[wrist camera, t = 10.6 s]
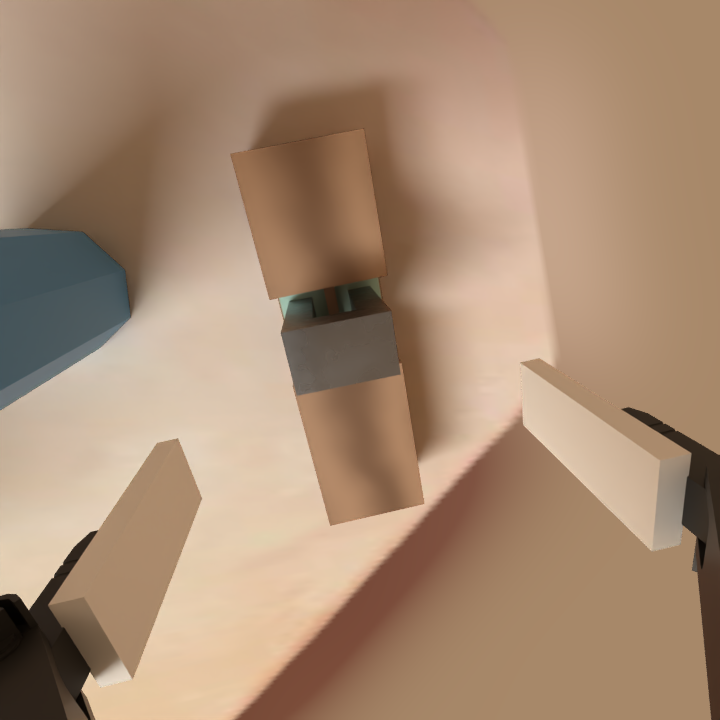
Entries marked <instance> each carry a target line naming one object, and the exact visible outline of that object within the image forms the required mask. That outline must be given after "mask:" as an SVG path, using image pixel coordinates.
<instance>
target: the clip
mask: <svg viewBox="0 0 720 720" xmlns="http://www.w3.org/2000/svg"><path fill="white" fill-rule="evenodd" d="M348 296H349V301H350V307H351V311H347V312H342V313H337V314H331V315H326V316H321V317H316V313H315V308H314V304H313V299H312V297H309V298H304V299H299V300H294V301H289V304H288V307H287V311H286V315H285V319H284V323H283V326H282V330H281V336H282V340H283V343H284V347H285V351H286V355H287V359H288V363H289V367H290V371H291V375H292V379H293V383H294V387H295V391H296V395H297V396H299V395H304V394H308V393H313V392H318V391H323V390H328V389H333V388H338V387H342V386H347V385H352V384H357V383H362V382H367V381H372V380H376V379H381V378H386V377H391V376H396V375H401V373H400V366H399V360H398V353H397V346H396V340H395V333H394V326H393V320H392V313H391V310H390V309H389V308H388V307H387V305H386V304H385V303H384V302H383V301H382V299H381V298H380V297H379V296H378V295H377V293H376V292H375V291H374V290H373V289H372V287H371V286H365V287H360V288H355V289H350V290H348Z"/></svg>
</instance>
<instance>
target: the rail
mask: <svg viewBox="0 0 720 720" xmlns="http://www.w3.org/2000/svg"><path fill="white" fill-rule="evenodd" d="M231 158H232V162H233V165H234V169H235V173H236V177H237V180H238V184H239V188H240V192H241V195H242V199H243V203H244V206H245V210H246V214H247V218H248V221H249V225H250V229H251V232H252V236H253V240H254V244H255V247H256V251H257V255H258V258H259V262H260V266H261V270H262V273H263V277H264V281H265V285H266V288H267V292H268V296H269V299H270V300H272V299H276V298H278V301H279V304H280V308H281V312H282V316H283V320H284V319H285V315H286V311H287V307H288V304H289V301H294V300H299V299H304V298H309V297H312V299H313V304H314V308H315V313H316V317H321V316H326V315H331V314H337V313H342V312H347V311H351V307H350V301H349V296H348V290H350V289H355V288H360V287H365V286H371V287H372V289H373V290H374V291H375V292H376V293H377V295H378V296H379V297H380V298H381V299H382V301H383V298H382V292H381V286H380V280H379V277H382V276H387V269H386V263H385V256H384V250H383V244H382V238H381V232H380V225H379V219H378V213H377V207H376V201H375V194H374V188H373V182H372V176H371V170H370V163H369V157H368V151H367V145H366V139H365V132H364V128H363V129H358V130H353V131H347V132H342V133H337V134H332V135H326V136H321V137H316V138H311V139H306V140H300V141H295V142H290V143H285V144H280V145H274V146H269V147H264V148H259V149H253V150H248V151H243V152H238V153H233V154H231ZM398 360H399V358H398ZM399 366H400V373H401V375H396V376H391V377H386V378H381V379H376V380H372V381H367V382H362V383H357V384H352V385H347V386H342V387H338V388H333V389H328V390H323V391H318V392H313V393H308V394H304V395H299V396H297V395H296V391H295V387H294V383H293V389H294V392H295V396H296V400H297V404H298V407H299V411H300V415H301V418H302V422H303V426H304V430H305V433H306V437H307V441H308V444H309V448H310V452H311V456H312V459H313V463H314V467H315V470H316V474H317V478H318V482H319V485H320V489H321V493H322V496H323V500H324V504H325V508H326V511H327V515H328V519H329V523H330V526H331V525H335V524H340V523H344V522H348V521H353V520H357V519H361V518H365V517H370V516H374V515H378V514H383V513H387V512H391V511H396V510H400V509H404V508H409V507H413V506H417V505H421V504H424V498H423V492H422V486H421V480H420V474H419V467H418V461H417V455H416V449H415V443H414V436H413V430H412V424H411V418H410V412H409V405H408V399H407V393H406V387H405V381H404V374H403V368H402V363H401V361H400V360H399Z"/></svg>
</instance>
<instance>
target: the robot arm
mask: <svg viewBox="0 0 720 720" xmlns="http://www.w3.org/2000/svg"><path fill="white" fill-rule="evenodd" d="M520 370H521V390H522V409H523V425H524V426H525V427H526V428H527V429H528V430H529V431H530V432H531V433H532V434H533V435H534V436H535V437H536V438H537V439H538V440H539V441H540V442H541V443H542V444H543V445H544V446H545V447H546V448H547V449H548V450H549V451H550V452H551V453H552V454H553V455H554V456H555V457H556V458H557V459H559V461H561V462H562V463H563V464H564V465H565V466H566V467H567V468H568V469H569V470H570V471H571V472H572V473H573V474H574V475H575V476H576V477H577V478H578V479H579V480H580V481H581V482H582V483H583V484H584V485H585V486H586V487H587V488H588V489H589V490H590V491H591V492H592V493H593V494H594V495H595V496H596V497H597V498H598V499H599V500H600V501H601V502H602V503H603V504H604V505H605V506H606V507H607V508H608V509H610V511H611V512H612V513H613V514H614V515H615V516H616V517H618V518H619V519H620V520H621V521H622V522H623V523H624V524H625V525H626V526H627V527H628V528H629V529H630V530H631V531H632V532H633V533H634V534H635V535H636V536H637V537H638V538H639V539H640V540H641V541H642V542H643V543H644V544H645V545H646V546H647V547H648V548H649V549H650V550H651V551H656V550H660V549H664V548H668V547H672V546H676V545H680V544H681V536H682V528H683V526H685V527H686V528H687V529H688V530H689V531H691V532H692V533H693V534H694V535H695V536H697V539H696V546H695V553H694V560H693V567H692V570H693V571H695V572H698V583H699V593H700V603H701V615H702V625H703V636H704V647H705V657H706V666H707V667H706V668H707V678H708V689H709V699H710V710H711V720H720V455H718V454H716V453H714V452H713V451H711V450H709V449H708V448H706V447H704V446H702V445H701V444H699V443H697V442H696V441H694V440H692V439H691V438H689V437H687V436H685V435H684V434H682V433H680V432H678V431H675V430H674V429H673V428H672V427H670V426H668V425H666V424H663V422H662V421H660V420H658V419H656V418H655V417H653V416H651V415H650V414H648V413H645V412H642V411H639V410H635V409H632V408H624V409H620V408H618V407H616V406H615V405H613V404H612V403H610V402H608V401H607V400H605V399H604V398H602V397H600V396H599V395H597V394H596V393H594V392H592V391H591V390H589V389H587V388H586V387H584V386H583V385H581V384H580V383H578V382H576V381H575V380H573V379H572V378H570V377H568V376H567V375H565V374H564V373H562V372H560V371H559V370H557V369H556V368H554V367H552V366H551V365H549V364H547V363H546V362H544V361H543V360H541V359H534V360H530V361H525V362H521V363H520ZM201 500H202V497H201V495H200V492H199V490H198V487H197V485H196V482H195V480H194V477H193V475H192V472H191V470H190V467H189V465H188V462H187V460H186V457H185V455H184V452H183V450H182V447H181V445H180V442H179V440H178V439H173V440H169V441H164V442H160V443H157V444H156V446H155V447H154V449H153V450H152V452H151V453H150V455H149V456H148V458H147V459H146V461H145V462H144V463H143V465H142V466H141V468H140V469H139V471H138V472H137V474H136V475H135V477H134V478H133V480H132V481H131V483H130V484H129V486H128V487H127V489H126V490H125V492H124V493H123V495H122V496H121V498H120V499H119V501H118V502H117V504H116V505H115V507H114V508H113V510H112V511H111V513H110V514H109V515H108V517H107V518H106V520H105V521H104V523H103V524H102V526H101V527H100V529H99V530H97V531H93V532H90V533H89V534H88V535H87V536H86V537H85V538H84V539H82V540H81V541H80V542H79V543H78V544H77V545H76V546H75V547H74V548H73V549H72V551H71V552H70V554H69V555H68V556H67V558H66V559H65V561H64V562H63V565H61V566H60V568H59V569H58V570H57V572H56V573H55V575H54V578H52V579H51V580H50V582H49V583H48V584H47V586H46V587H45V589H44V590H43V591H42V593H41V594H40V596H39V597H38V598H37V600H36V601H35V603H34V604H33V605H32V607H31V608H30V610H28V609H27V607H26V606H25V604H24V603H23V601H22V600H21V598H20V597H19V596H18V595H16V594H6V595H2V596H0V720H95V718H94V715H93V713H92V710H91V707H90V705H89V702H88V699H87V697H86V696H85V694H84V693H83V691H82V690H81V689H82V687H83V685H84V683H85V681H86V679H87V677H88V675H89V673H90V672H91V674H92V675H93V677H94V678H95V680H96V682H97V683H98V685H99V686H100V688H101V687H105V686H109V685H113V684H117V683H121V682H125V681H129V680H133V677H134V675H135V672H136V669H137V667H138V664H139V662H140V659H141V656H142V654H143V651H144V648H145V646H146V643H147V641H148V638H149V635H150V633H151V630H152V628H153V625H154V622H155V620H156V617H157V615H158V612H159V609H160V607H161V604H162V601H163V599H164V596H165V594H166V591H167V588H168V586H169V583H170V581H171V578H172V575H173V573H174V570H175V568H176V565H177V562H178V560H179V557H180V554H181V552H182V549H183V547H184V544H185V541H186V539H187V536H188V534H189V531H190V528H191V526H192V523H193V521H194V518H195V515H196V513H197V510H198V507H199V505H200V502H201Z"/></svg>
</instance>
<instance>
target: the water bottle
mask: <svg viewBox="0 0 720 720" xmlns="http://www.w3.org/2000/svg"><path fill="white" fill-rule="evenodd" d="M130 318H131V315H130V307H129V299H128V291H127V282H126V274H125V269H123V268H122V267H121V266H120V265H119V264H118V263H117V262H116V261H115V260H113V259H112V258H111V257H110V256H109V255H108V254H107V253H106V252H105V251H103V250H102V249H101V248H100V247H99V246H98V245H97V244H96V243H94V242H93V241H92V240H91V239H90V238H89V237H88V236H87V235H86V234H84V233H83V232H79V231H62V230H46V229H29V228H25V229H3V230H0V410H2V409H3V408H5V407H6V406H8V405H10V404H11V403H13V402H14V401H16V400H18V399H19V398H21V397H22V396H24V395H26V394H27V393H29V392H30V391H32V390H34V389H35V388H37V387H38V386H40V385H42V384H43V383H45V382H46V381H48V380H50V379H51V378H53V377H54V376H56V375H58V374H59V373H61V372H62V371H64V370H65V369H67V368H69V367H70V366H72V365H73V364H75V363H77V362H78V361H80V360H81V359H83V358H85V357H86V356H88V355H89V354H91V353H93V352H94V351H96V350H97V349H99V348H100V347H101V346H102V345H103V344H104V343H105V342H106V341H107V340H108V339H109V338H110V337H111V336H113V335H114V334H115V333H116V332H117V331H118V330H119V329H120V328H121V327H122V326H123V325H124V324H125V323H126V322H127V321H128V320H129V319H130Z"/></svg>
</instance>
